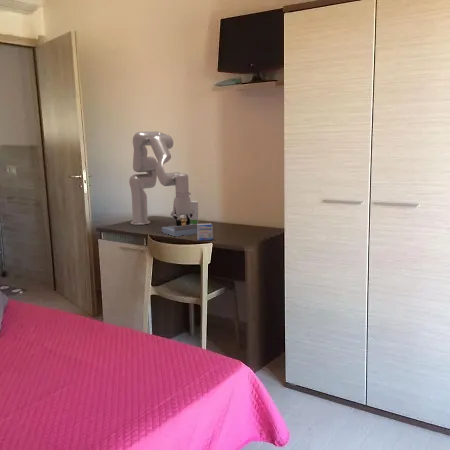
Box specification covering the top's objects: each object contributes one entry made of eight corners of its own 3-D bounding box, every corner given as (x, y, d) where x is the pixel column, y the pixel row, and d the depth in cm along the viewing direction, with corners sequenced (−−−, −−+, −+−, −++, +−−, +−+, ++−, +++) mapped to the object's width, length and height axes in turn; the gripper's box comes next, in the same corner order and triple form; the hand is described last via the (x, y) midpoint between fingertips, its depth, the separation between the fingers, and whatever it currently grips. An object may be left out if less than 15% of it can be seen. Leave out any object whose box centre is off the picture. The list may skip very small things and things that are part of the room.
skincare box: (185, 227, 318) (184, 202, 316) (184, 225, 325) (183, 200, 322) (198, 226, 320) (198, 201, 317) (197, 224, 326) (196, 200, 324)
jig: (161, 232, 303) (161, 223, 302) (191, 228, 314) (191, 219, 313) (174, 236, 290) (173, 227, 289) (205, 232, 300) (205, 223, 299)
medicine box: (198, 241, 278) (198, 225, 276) (197, 239, 282) (196, 223, 281) (213, 240, 280) (212, 224, 278) (211, 238, 284) (210, 222, 282)
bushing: (176, 232, 302) (176, 218, 301) (184, 231, 305) (184, 218, 304) (181, 233, 298) (180, 220, 297) (189, 232, 301) (189, 219, 299)
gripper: (192, 193, 305) (193, 223, 309) (165, 195, 296) (166, 226, 300) (198, 194, 299) (199, 225, 302) (171, 197, 290) (172, 228, 293)
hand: (183, 225), depth 301 cm, fingers open, 5 cm apart
